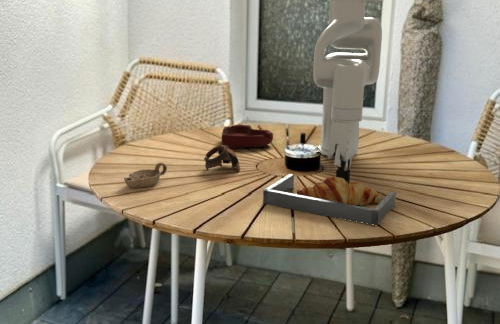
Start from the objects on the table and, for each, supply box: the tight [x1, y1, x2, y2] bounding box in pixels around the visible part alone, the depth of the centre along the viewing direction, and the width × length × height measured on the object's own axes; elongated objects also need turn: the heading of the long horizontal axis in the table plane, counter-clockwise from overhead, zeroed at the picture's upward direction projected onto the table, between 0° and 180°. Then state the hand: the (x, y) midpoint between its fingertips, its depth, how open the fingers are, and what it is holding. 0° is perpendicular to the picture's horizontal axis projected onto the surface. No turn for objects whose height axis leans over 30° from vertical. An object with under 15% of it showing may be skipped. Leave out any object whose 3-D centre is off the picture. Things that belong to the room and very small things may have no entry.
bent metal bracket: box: [262, 173, 397, 226], centre depth 143 cm, size 15×28×4 cm, turn 61°
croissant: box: [296, 176, 384, 207], centre depth 145 cm, size 21×10×8 cm, turn 90°
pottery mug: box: [203, 144, 241, 173], centre depth 170 cm, size 12×10×8 cm
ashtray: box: [221, 123, 274, 150], centre depth 197 cm, size 18×16×5 cm
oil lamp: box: [123, 162, 168, 189], centre depth 156 cm, size 13×8×5 cm, turn 133°
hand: (342, 184), depth 151 cm, fingers closed
